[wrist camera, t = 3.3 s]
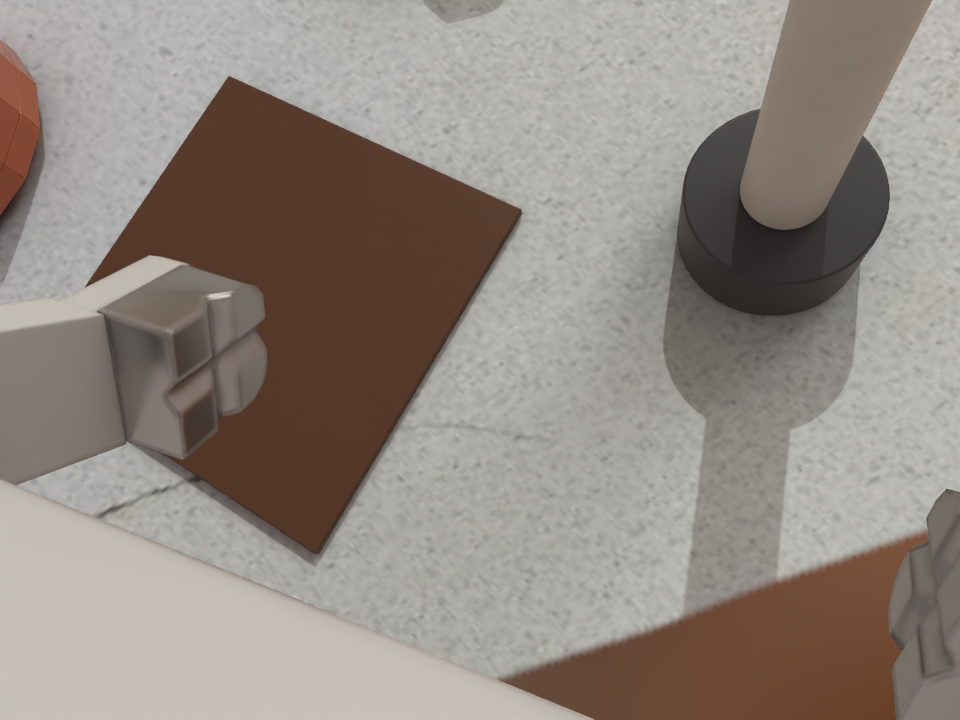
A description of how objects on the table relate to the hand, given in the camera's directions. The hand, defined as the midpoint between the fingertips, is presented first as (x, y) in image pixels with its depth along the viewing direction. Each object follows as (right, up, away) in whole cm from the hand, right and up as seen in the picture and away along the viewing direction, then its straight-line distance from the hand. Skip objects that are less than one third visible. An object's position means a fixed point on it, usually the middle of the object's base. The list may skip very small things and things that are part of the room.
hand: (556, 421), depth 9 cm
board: (-9, +3, +20) cm, 23 cm away
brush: (+9, +5, +18) cm, 20 cm away
